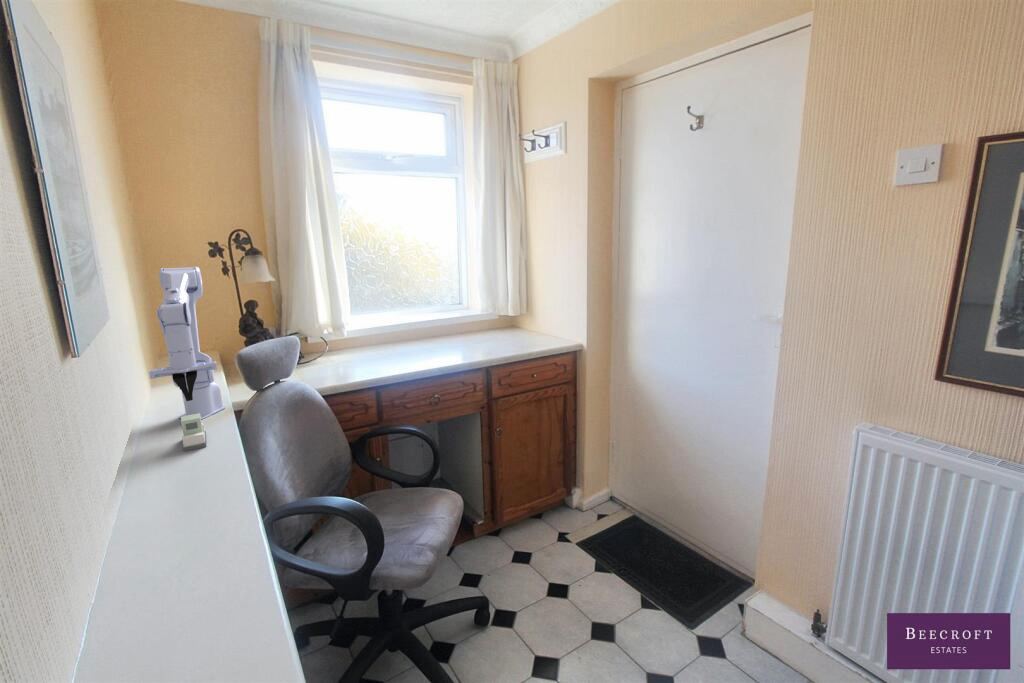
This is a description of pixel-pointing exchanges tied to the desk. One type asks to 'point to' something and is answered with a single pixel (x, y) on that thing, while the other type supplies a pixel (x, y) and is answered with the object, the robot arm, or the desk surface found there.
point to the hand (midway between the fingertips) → (189, 399)
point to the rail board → (194, 440)
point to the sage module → (191, 424)
